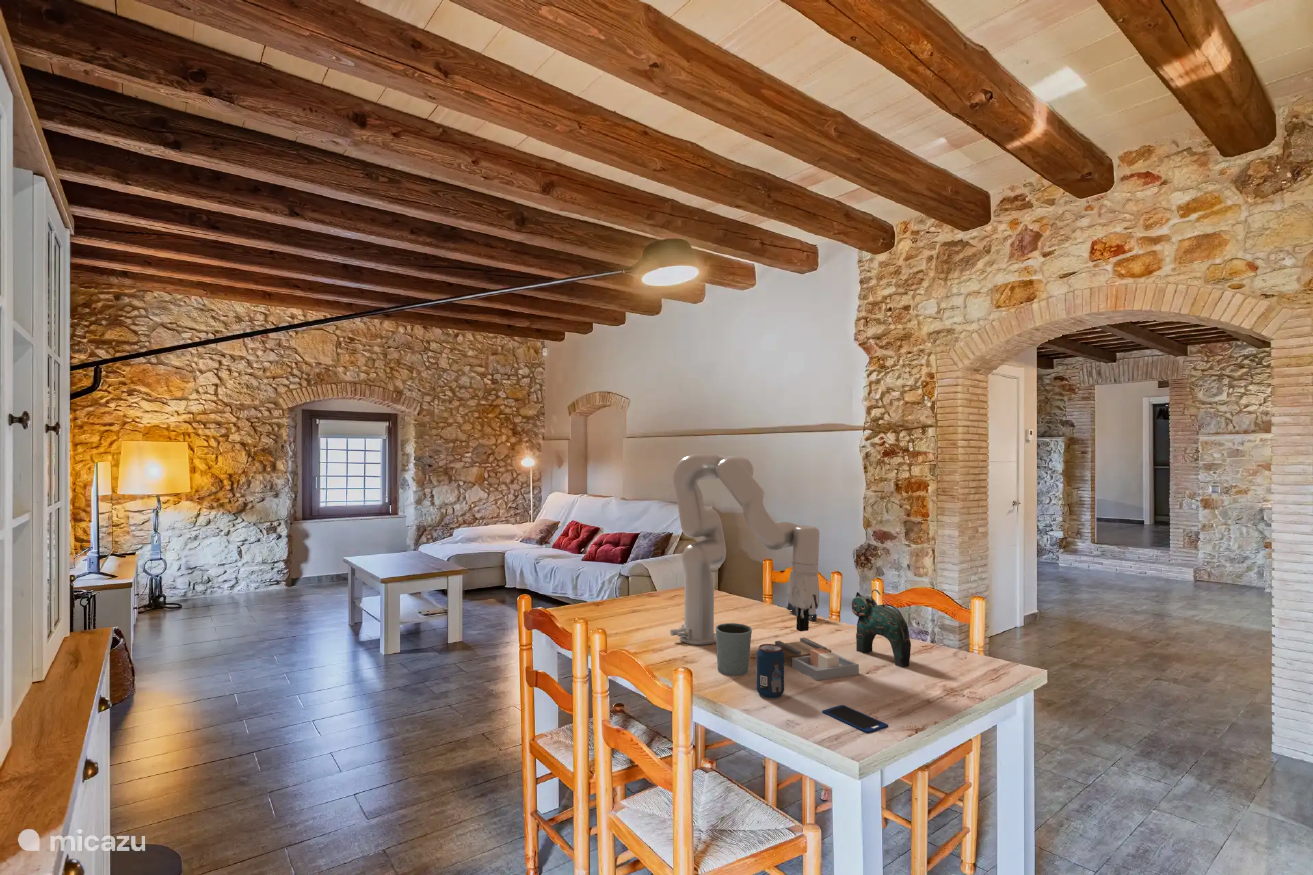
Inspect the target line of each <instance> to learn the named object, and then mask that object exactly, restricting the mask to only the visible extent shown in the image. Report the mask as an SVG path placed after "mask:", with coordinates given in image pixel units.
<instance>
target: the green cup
mask: <svg viewBox="0 0 1313 875" xmlns="http://www.w3.org/2000/svg"><path fill="white" fill-rule="evenodd" d="M752 631H753V630H752V628H751V627H750V626H749V625H746V624H744V623H743V624H742V623H738V622H737V623H735V622H728V623H720V624H718V625H716V626H715V634H716V652H717V653H716V660H717V661H716V662H717V663H716V664H717V671H718V673H720V674H722V675H725V676H730V677H731V676H732V677H739V676H744V675H746V674H748V673H749V666H750V665H749V662H750V652H751V639H752Z"/></svg>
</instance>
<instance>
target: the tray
mask: <svg viewBox="0 0 1313 875" xmlns="http://www.w3.org/2000/svg"><path fill="white" fill-rule="evenodd" d="M831 653H832V654H834V655H836V656H839V666H836V667H830V668H823V669H818V667H816V666H814V665H812V664H810V656H803V657H796V658H792V667H791V668H792V669H795V670H796V671H798V672H800V673H802V674H803V675H804V676H805V675H806V676H807V677H809V678H811V679H812V680H815V681H823V680H830V679H835V678H843V677H849V676H854V675H855V676H856V675H859V673H860V670H859V669H860V665H859V663H856V662H854V661H852V660H850V659H849V658H848V659H847V658H846V657H843V656H841V655H839V654H837V653H834V652H833V651H831Z"/></svg>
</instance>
